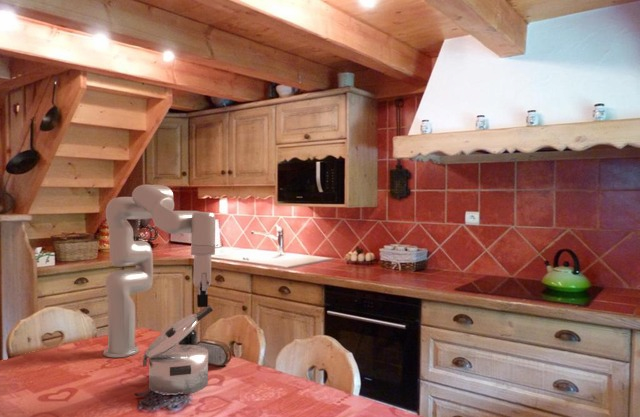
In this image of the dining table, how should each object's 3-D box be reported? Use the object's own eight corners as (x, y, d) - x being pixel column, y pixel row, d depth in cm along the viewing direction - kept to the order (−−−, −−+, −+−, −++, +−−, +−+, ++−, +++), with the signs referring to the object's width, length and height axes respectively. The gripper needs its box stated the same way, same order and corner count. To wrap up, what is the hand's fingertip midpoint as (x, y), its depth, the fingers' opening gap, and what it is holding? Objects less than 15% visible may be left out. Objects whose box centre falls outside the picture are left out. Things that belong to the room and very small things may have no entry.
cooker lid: (147, 348, 154) (142, 342, 154) (209, 302, 161) (205, 296, 160) (144, 367, 136) (139, 361, 136) (215, 315, 143) (210, 308, 142)
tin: (231, 366, 166) (232, 342, 166) (226, 369, 163) (226, 345, 163) (198, 359, 172) (199, 336, 172) (193, 361, 170) (193, 338, 170)
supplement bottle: (189, 351, 181) (189, 320, 181) (200, 354, 177) (201, 323, 177) (174, 355, 176) (174, 324, 176) (186, 359, 172) (186, 327, 172)
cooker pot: (144, 374, 156) (144, 345, 156) (204, 368, 163) (205, 340, 163) (141, 403, 134) (141, 369, 134) (211, 395, 140) (211, 363, 140)
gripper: (189, 248, 156) (189, 302, 156) (192, 252, 142) (191, 312, 142) (212, 247, 159) (212, 301, 159) (217, 252, 144) (216, 311, 145)
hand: (202, 306), depth 151 cm, fingers closed
